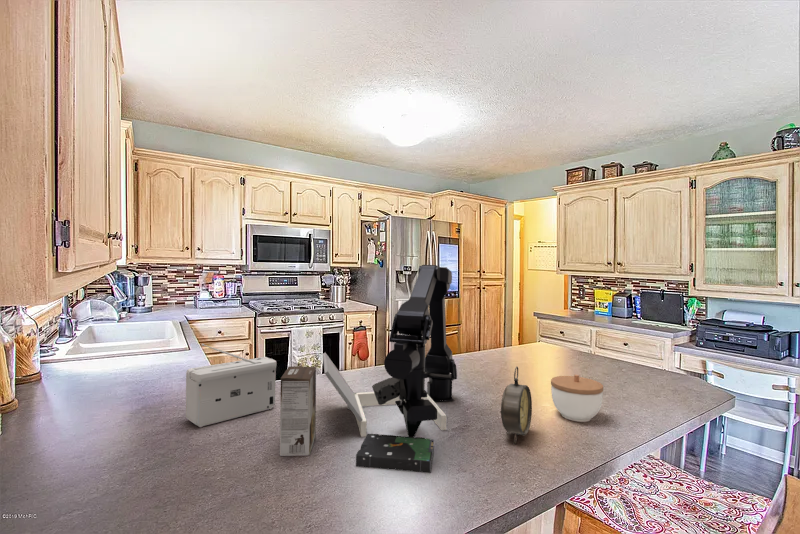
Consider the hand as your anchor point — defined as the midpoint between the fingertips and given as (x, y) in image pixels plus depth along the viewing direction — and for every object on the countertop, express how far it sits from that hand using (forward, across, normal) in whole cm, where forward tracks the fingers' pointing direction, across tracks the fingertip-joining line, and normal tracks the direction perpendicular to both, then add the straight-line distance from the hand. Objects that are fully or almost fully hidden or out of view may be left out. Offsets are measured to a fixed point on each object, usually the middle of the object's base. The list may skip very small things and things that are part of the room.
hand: (410, 437), depth 86 cm
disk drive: (+2, +5, -4) cm, 7 cm away
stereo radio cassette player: (+2, -25, -41) cm, 48 cm away
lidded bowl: (+2, -8, +47) cm, 48 cm away
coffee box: (+2, -4, -24) cm, 24 cm away
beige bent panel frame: (+2, -16, -4) cm, 17 cm away
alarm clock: (+2, 0, +25) cm, 25 cm away
